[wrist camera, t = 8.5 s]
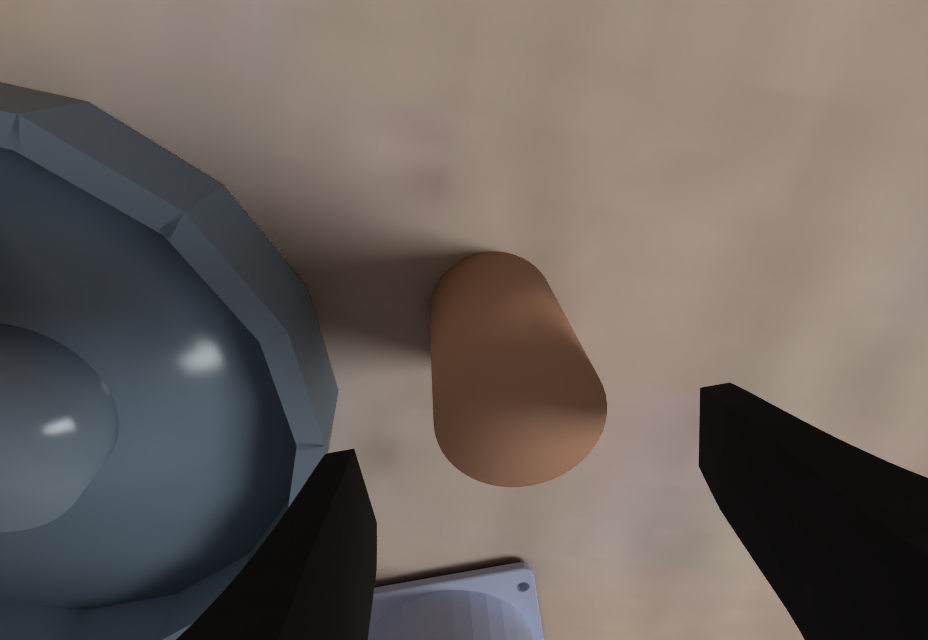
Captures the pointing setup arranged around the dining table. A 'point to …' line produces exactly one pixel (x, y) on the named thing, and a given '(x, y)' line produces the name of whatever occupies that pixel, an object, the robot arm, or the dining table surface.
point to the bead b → (509, 375)
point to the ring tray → (139, 380)
